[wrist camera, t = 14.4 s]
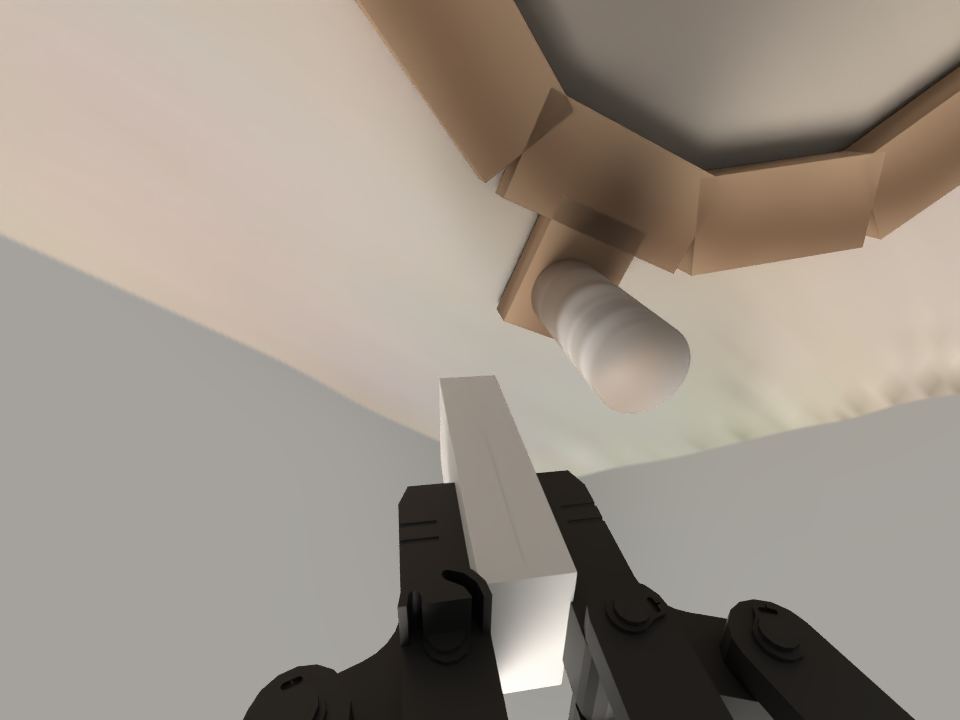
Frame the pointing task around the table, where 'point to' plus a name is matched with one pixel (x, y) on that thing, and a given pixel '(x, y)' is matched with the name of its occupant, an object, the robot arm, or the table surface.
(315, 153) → the table surface
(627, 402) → the turntable ring
